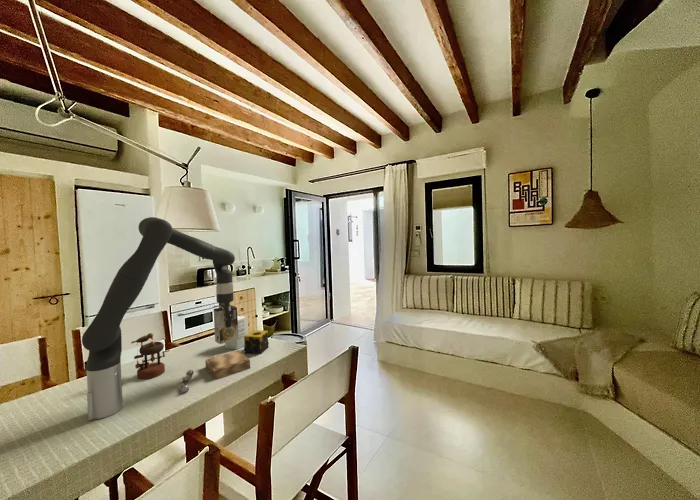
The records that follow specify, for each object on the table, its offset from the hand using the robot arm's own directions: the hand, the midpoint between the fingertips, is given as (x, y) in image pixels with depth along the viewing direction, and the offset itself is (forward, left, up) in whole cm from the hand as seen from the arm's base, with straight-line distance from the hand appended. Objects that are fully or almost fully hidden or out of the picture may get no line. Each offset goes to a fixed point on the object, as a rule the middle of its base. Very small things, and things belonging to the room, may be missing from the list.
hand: (226, 325), depth 130 cm
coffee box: (0, 0, -8) cm, 8 cm away
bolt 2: (-20, -8, -21) cm, 30 cm away
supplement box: (+13, +26, -21) cm, 36 cm away
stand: (0, 0, -21) cm, 21 cm away
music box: (-28, +19, -21) cm, 40 cm away
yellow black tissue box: (+19, +11, -21) cm, 31 cm away
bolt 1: (-17, +1, -21) cm, 27 cm away
